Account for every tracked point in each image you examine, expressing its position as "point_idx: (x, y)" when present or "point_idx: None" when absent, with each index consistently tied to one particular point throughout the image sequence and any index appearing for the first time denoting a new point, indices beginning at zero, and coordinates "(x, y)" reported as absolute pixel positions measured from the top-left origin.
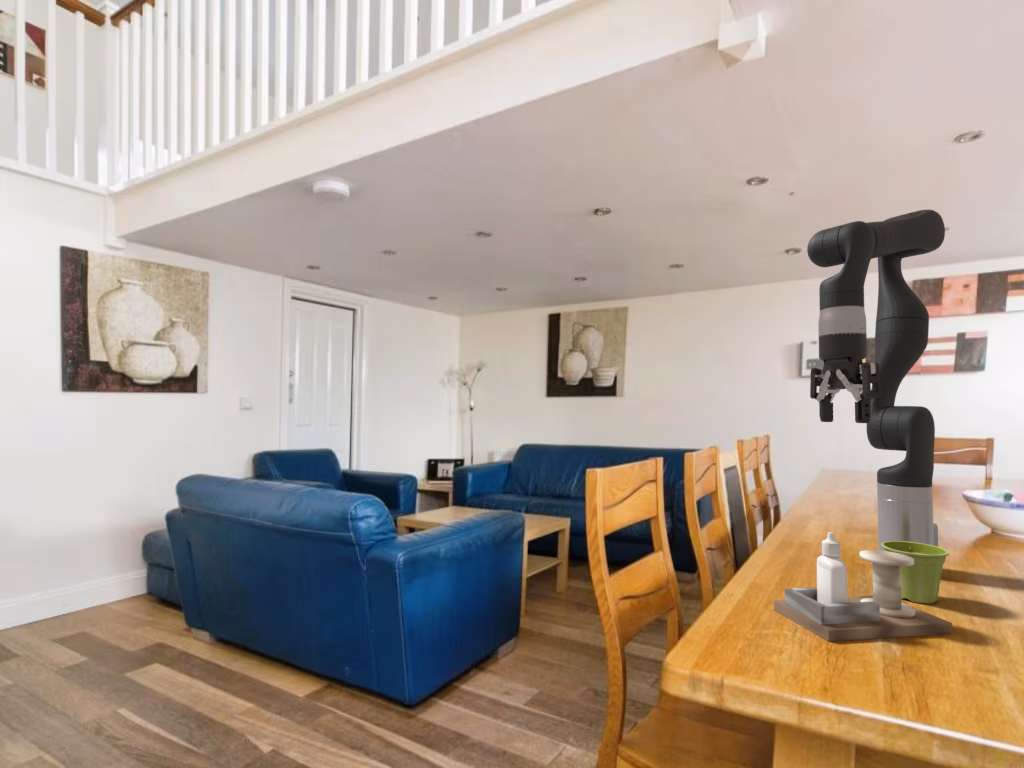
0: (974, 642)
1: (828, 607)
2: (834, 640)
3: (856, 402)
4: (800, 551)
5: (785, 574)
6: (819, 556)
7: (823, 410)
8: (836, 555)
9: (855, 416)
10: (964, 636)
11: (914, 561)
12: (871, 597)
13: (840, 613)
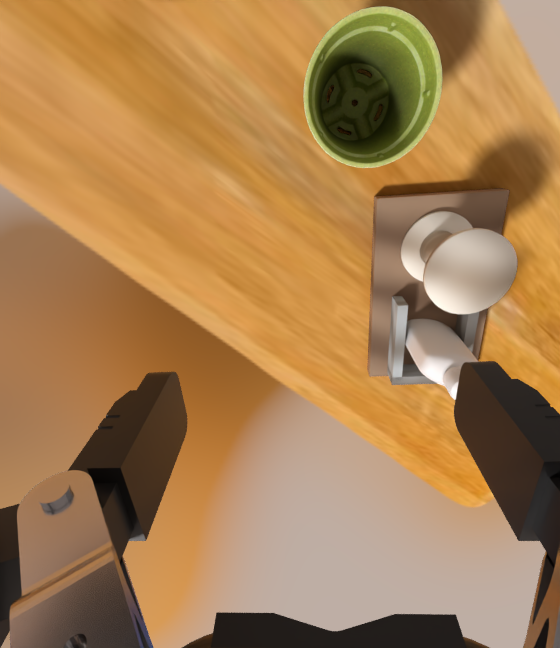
0: (534, 182)
1: None
2: None
3: (536, 536)
4: (20, 117)
5: (209, 262)
6: (434, 380)
7: (167, 479)
8: None
9: (472, 449)
10: (514, 177)
11: (407, 137)
12: (384, 231)
13: None
